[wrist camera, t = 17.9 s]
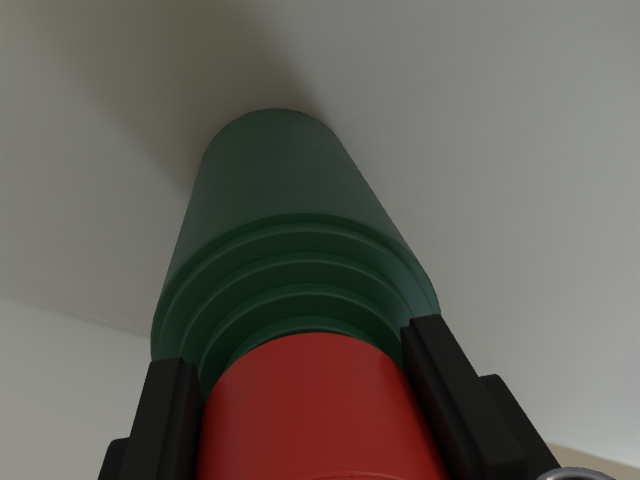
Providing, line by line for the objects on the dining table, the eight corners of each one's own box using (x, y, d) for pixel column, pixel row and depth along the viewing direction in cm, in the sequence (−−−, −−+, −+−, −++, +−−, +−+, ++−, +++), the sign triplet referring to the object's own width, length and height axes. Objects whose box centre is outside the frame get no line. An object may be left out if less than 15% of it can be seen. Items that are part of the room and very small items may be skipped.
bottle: (358, 246, 27) (550, 677, 10) (212, 266, 26) (141, 752, 9) (346, 99, 24) (570, 322, 7) (185, 118, 24) (23, 401, 7)
